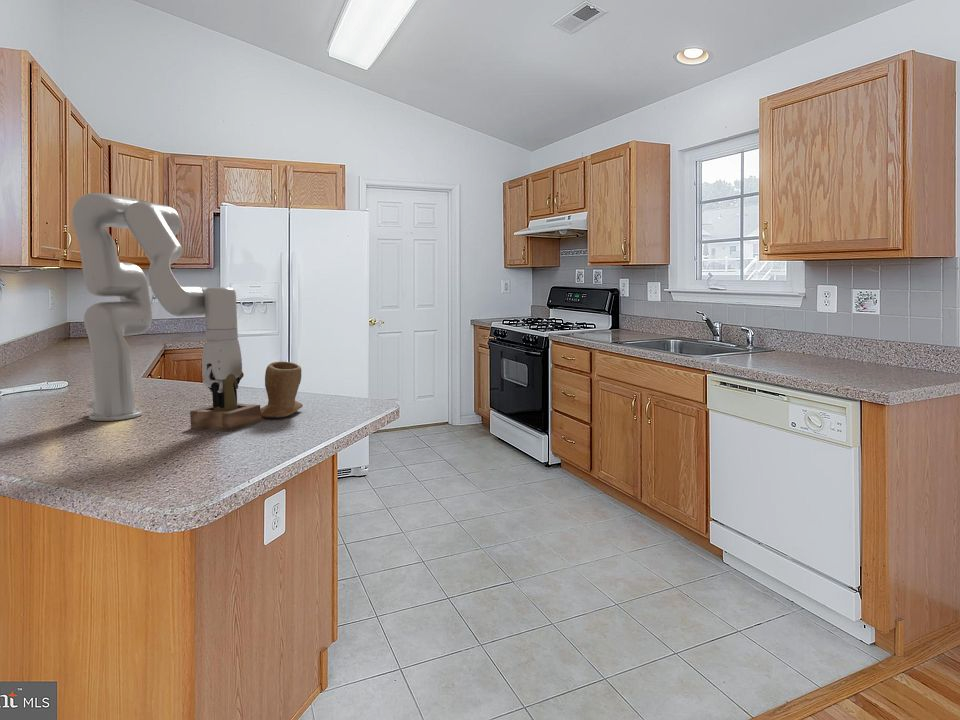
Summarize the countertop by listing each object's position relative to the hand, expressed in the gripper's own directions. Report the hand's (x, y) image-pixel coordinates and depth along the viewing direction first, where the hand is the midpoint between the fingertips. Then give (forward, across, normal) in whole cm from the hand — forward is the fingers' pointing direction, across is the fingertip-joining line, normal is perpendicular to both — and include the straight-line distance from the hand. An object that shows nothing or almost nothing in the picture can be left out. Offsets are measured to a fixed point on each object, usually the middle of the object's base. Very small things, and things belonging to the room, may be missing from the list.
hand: (225, 405), depth 160 cm
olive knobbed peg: (+2, 0, 0) cm, 2 cm away
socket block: (+5, 0, 0) cm, 5 cm away
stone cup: (+5, -15, +7) cm, 18 cm away
